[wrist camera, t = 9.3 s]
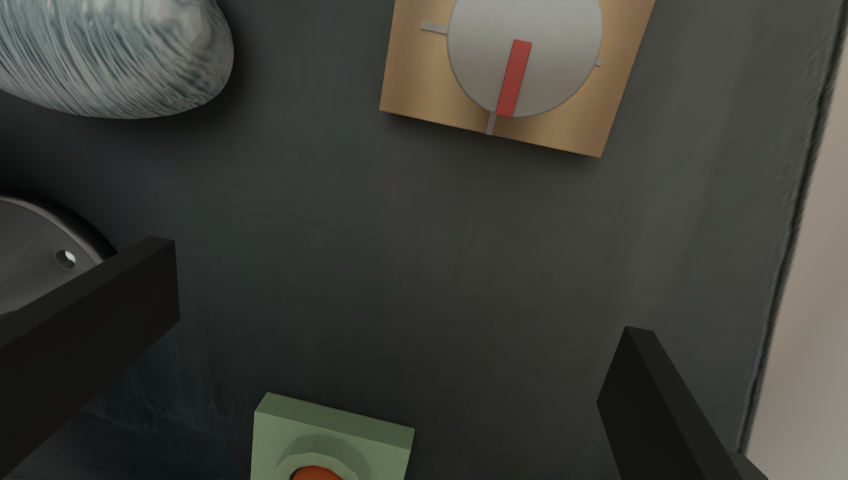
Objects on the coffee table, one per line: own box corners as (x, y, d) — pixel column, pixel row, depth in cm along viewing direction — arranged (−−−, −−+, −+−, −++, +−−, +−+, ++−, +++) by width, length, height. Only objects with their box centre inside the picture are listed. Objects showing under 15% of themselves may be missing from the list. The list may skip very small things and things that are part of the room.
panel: (387, 105, 27) (377, 110, 25) (415, -75, 24) (407, -89, 21) (591, 149, 27) (601, 159, 24) (651, -28, 23) (670, -38, 21)
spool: (-17, 108, 27) (-209, 27, 17) (24, -46, 28) (-139, -209, 18) (229, 164, 30) (185, 121, 20) (261, 22, 30) (233, -86, 21)
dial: (474, -22, 22) (465, -68, 13) (575, -1, 22) (631, -34, 13) (452, 83, 24) (431, 101, 15) (544, 103, 24) (575, 133, 15)
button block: (262, 463, 40) (238, 505, 36) (267, 391, 37) (242, 429, 33) (397, 498, 39) (388, 544, 36) (415, 428, 36) (406, 470, 32)
